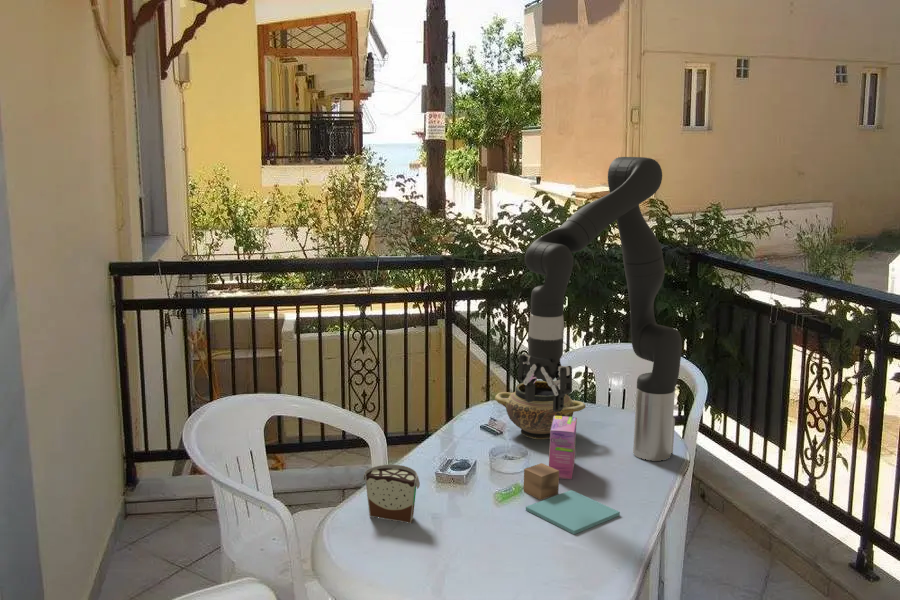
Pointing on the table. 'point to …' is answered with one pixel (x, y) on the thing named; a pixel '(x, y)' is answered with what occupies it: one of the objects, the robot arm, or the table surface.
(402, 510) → the food container
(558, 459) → the box
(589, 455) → the table surface
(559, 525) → the mat
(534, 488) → the cube
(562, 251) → the robot arm
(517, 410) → the ceramic bowl
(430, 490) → the table surface
